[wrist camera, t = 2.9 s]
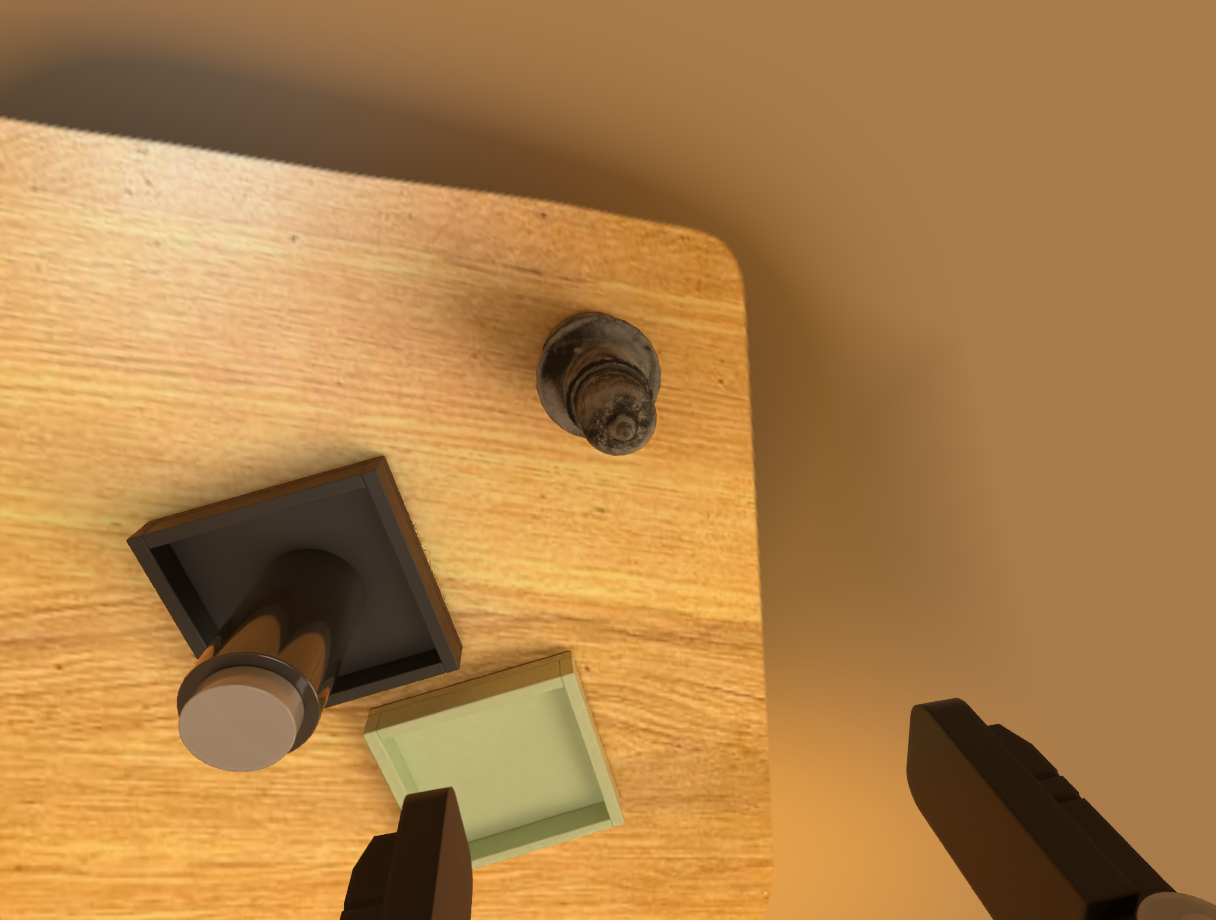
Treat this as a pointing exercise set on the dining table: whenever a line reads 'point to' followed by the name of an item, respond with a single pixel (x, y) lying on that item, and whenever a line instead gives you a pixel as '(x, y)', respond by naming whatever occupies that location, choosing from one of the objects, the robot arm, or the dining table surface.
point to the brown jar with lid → (272, 663)
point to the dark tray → (321, 520)
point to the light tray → (504, 757)
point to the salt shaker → (600, 382)
